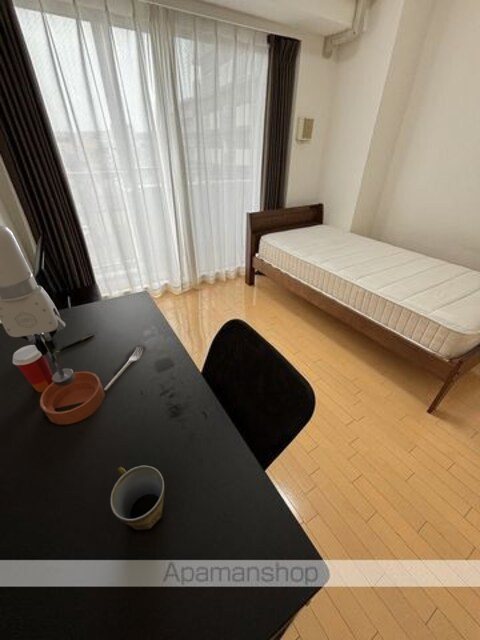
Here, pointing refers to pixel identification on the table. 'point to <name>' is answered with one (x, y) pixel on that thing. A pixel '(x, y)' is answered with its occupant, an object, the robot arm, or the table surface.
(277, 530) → the table surface
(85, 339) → the fountain pen
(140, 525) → the ceramic cup
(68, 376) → the grey disc on stem
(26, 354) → the paper cup
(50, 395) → the bowl
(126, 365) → the fork
